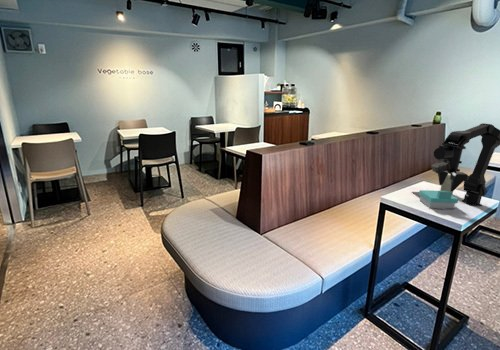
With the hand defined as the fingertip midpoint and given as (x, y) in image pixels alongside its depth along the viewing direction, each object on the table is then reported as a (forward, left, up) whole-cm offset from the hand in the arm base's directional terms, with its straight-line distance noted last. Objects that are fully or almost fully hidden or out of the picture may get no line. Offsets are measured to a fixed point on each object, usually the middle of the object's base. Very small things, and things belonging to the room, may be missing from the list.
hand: (446, 188), depth 144 cm
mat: (-3, -17, -11) cm, 21 cm away
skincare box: (-15, -21, -12) cm, 29 cm away
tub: (0, -4, -11) cm, 12 cm away
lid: (0, -4, -8) cm, 9 cm away
